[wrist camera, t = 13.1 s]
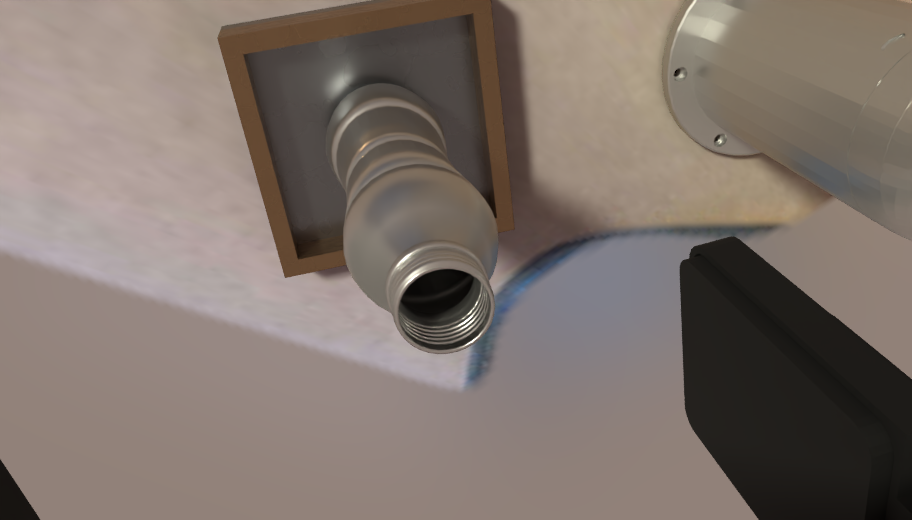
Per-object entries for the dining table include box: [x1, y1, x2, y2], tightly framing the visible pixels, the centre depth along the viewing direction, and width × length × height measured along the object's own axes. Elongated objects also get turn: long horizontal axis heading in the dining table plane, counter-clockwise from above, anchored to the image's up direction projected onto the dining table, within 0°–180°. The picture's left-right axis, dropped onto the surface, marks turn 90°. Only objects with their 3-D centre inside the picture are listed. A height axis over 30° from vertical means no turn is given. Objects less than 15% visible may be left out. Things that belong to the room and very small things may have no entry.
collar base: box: [218, 0, 515, 278], centre depth 43 cm, size 14×14×4 cm
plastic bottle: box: [326, 83, 499, 354], centre depth 35 cm, size 6×7×20 cm
